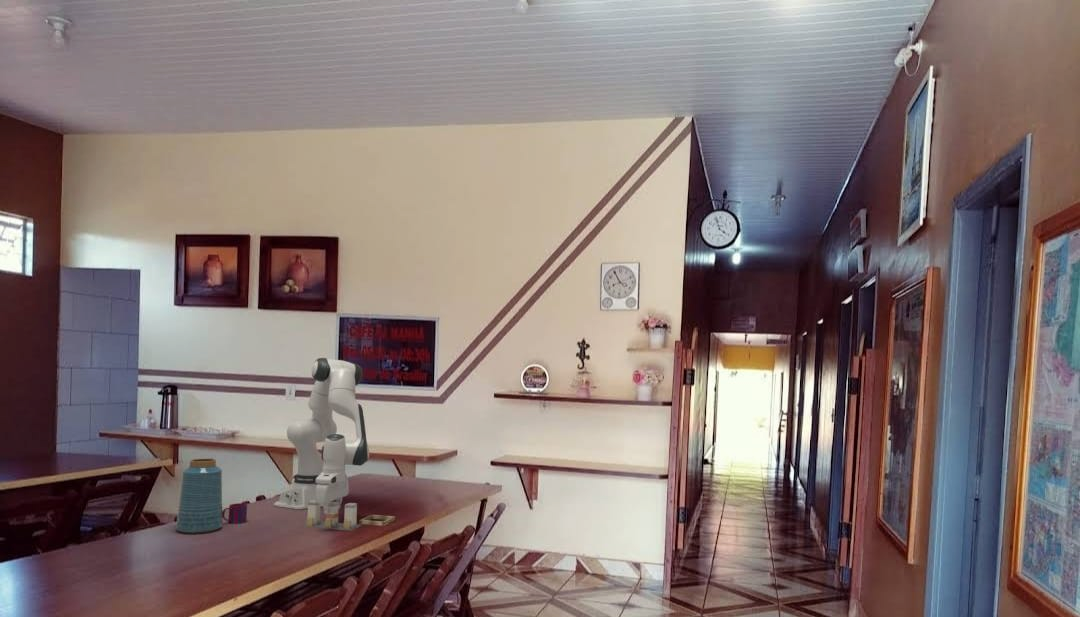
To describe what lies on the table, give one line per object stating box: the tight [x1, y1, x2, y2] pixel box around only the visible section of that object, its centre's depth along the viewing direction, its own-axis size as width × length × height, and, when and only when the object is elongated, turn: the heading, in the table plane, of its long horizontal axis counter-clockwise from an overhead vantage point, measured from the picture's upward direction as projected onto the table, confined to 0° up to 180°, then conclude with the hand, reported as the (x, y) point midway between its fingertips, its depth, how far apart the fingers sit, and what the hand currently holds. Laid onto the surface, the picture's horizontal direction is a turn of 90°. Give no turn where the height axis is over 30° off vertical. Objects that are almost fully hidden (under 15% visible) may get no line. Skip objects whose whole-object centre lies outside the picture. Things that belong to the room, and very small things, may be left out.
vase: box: [175, 457, 223, 535], centre depth 283 cm, size 16×16×27 cm
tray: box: [358, 514, 397, 527], centre depth 297 cm, size 11×11×2 cm
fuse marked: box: [325, 501, 339, 527], centre depth 289 cm, size 3×3×9 cm
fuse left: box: [307, 500, 321, 525], centre depth 290 cm, size 3×3×9 cm
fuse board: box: [299, 516, 363, 532], centre depth 288 cm, size 22×10×4 cm, turn 77°
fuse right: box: [343, 502, 358, 528], centre depth 287 cm, size 3×3×9 cm
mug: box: [222, 502, 248, 525], centre depth 295 cm, size 7×10×7 cm
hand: (332, 511), depth 289 cm, fingers open, 7 cm apart
